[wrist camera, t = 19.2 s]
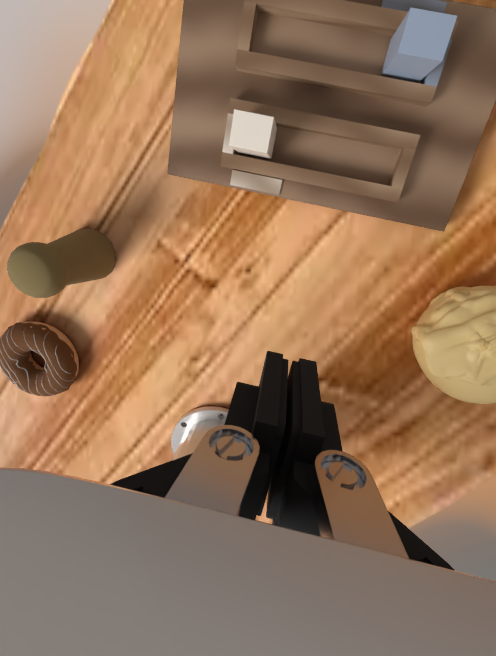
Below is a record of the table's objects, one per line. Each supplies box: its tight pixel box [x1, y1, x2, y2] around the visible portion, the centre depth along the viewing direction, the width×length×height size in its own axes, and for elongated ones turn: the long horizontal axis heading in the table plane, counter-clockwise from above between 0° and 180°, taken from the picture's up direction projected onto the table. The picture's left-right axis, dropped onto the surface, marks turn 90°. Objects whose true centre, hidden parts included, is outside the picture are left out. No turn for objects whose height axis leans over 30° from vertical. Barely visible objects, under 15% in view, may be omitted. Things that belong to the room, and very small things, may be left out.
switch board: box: [168, 0, 496, 231], centre depth 32 cm, size 17×28×3 cm, turn 79°
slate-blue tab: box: [381, 8, 457, 83], centre depth 27 cm, size 3×3×6 cm
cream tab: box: [229, 109, 277, 159], centre depth 31 cm, size 3×3×6 cm
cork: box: [7, 228, 116, 298], centre depth 37 cm, size 6×6×11 cm
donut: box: [0, 321, 79, 396], centre depth 46 cm, size 11×11×4 cm
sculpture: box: [411, 286, 496, 404], centre depth 35 cm, size 11×12×11 cm
